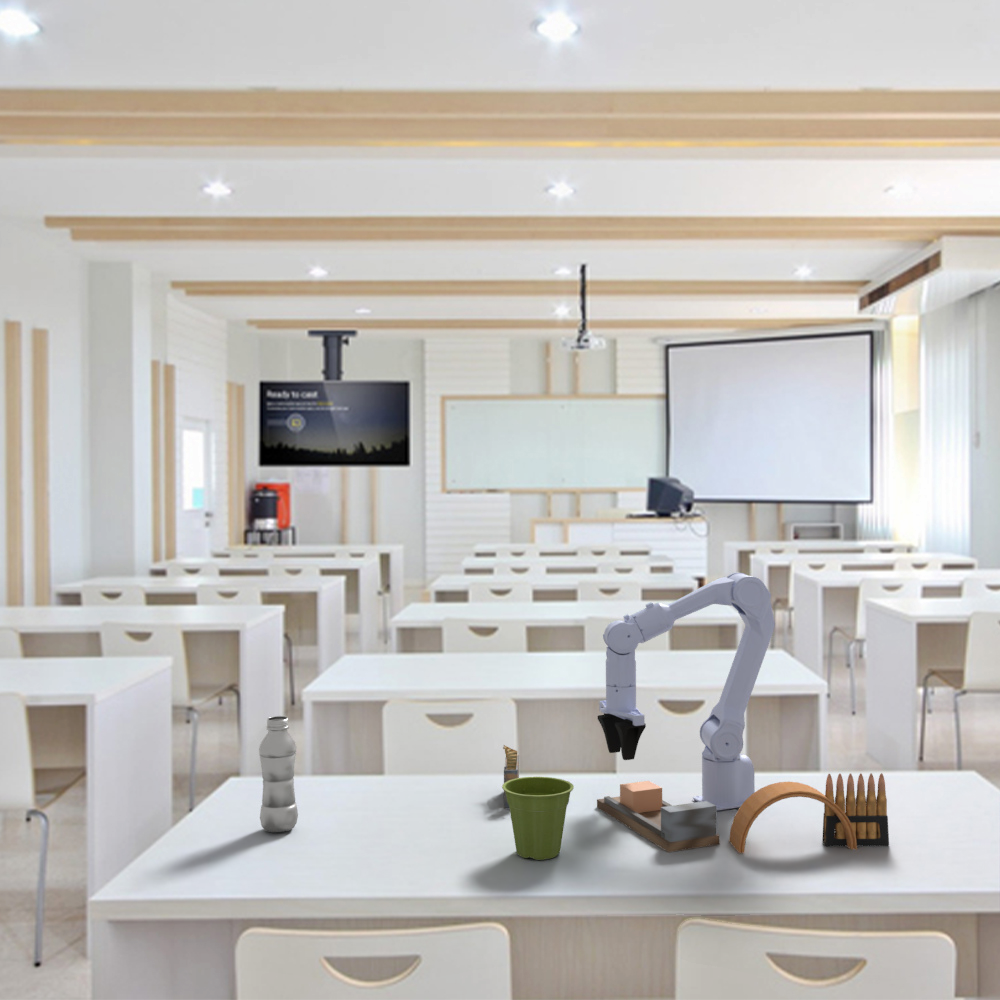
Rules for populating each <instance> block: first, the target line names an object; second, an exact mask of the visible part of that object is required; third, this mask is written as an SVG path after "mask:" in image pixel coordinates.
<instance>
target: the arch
mask: <svg viewBox="0 0 1000 1000" xmlns="http://www.w3.org/2000/svg"><path fill="white" fill-rule="evenodd" d="M798 797H799V798H800V797H801V798H809V799H812V800H814V801H818V802H819V803H822V804H826V805H827V806H828V807H830V808H831V809H832V810H833V812H834V813H835V815H836V816H838V818H839V819H840V821H841V824H842V826H843V828H844V833H845V839H846V840H847V846H846V847H847V848H848V849H850V850H858V846H857V841H856V836H855V832H854V829H853V827H852V825H851V822H850V820H849V819H848V817H847V816H846V814H845V813H844V812H843V811H842V810H841V809H840V808H839V807H838V806H837V805H836V804H835V803H834V802H833V801H831V800H830V799H828V798H827V797H826V796H825V794H824V793H822V791H819V790H818V789H817V788H814V787H813V786H810V785H808V784H804V783H801V782H798V781H780V782H778V781H777V782H775V783H770V784H767V785H765V786H763V787H761V788H759V789H757V790H756V791H755V793H753V794H752V795H751V796H750V797H749V798H747V799H746V800H745V801H744V803H743V804H742V805H741V807H738V810H737V812H736V813H735V815H734V817H733V820H732V823H731V826H730V830H729V831H730V832H729V839H728V840H729V843H730V844H731V845H732V847H733V848H734V850H735V851H737V852H738V854H741V853H742V854H745V849H746V841H747V837H748V834H749V831H750V829H751V827H752V825H754V824H753V823H754V822H755V820H756V819H757V818H758V817H759V815H760V814H762V813H763V811H765V810H766V809H767V808H769V807H770V806H772V805H773V804H775V803H777V802H779V801H782V800H786V799H790V798H798Z"/></svg>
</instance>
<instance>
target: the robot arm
mask: <svg viewBox="0 0 1000 1000" xmlns="http://www.w3.org/2000/svg"><path fill="white" fill-rule="evenodd" d="M771 599H772V594H771V592H770V591H769V589H768V587H767V586H766V584H765V583H764V582H763V581H762V579H760V578H759V577H757V576H752V575H747V574H746V573H743V572H737V571H736V572H732V573H730V574H728V576H727V577H726V576H723V577H720V578H717V579H714V580H713V581H710V582H709V583H706V584H705V585H703V586H701V587H699V588H697V589H695V590H693V591H691V592H690V593H688V594H685V595H684V596H682V597H680V598H678V599H676V600H675V601H672V602H671V603H668V604H664V603H661V602H658V601H657V602H656V603H653V602H652V601H651V602H648V603H646V604H645V608H643V609H640V610H639V611H636V612H634V613H633V614H628V613H627V614H625V615H623V617H622V618H623V620H619V619H617V620H614V621H612V622H611V621H610V623H608V624H607V627H605V629H604V633H603V634H602V638H603V641H604V643H605V644H606V651H605V656H606V659H605V699H604V700H599V701H598V702H599V703H598V705H599V707H598V708H599V709H598V710H599V712H600V713H601V714H600V715H597V720H598V722H599V724H600V726H601V728H602V730H603V734H604V737H605V741H606V745H607V749H608V753H609V754H614V753H620V752H621V757H622V760H623V761H631V760H635V757H636V753H637V749H638V745H639V741H640V739H641V737H642V734H643V732H644V730H645V729H646V727H647V725H646V723H645V713H642V712H641V711H640V709H639V708H638V707H637V662H636V650H637V648H638V645H639V644H644V643H646V642H648V641H650V640H652V639H655V638H656V637H659V636H660V635H662V634H666V633H667V632H669V631H671V630H672V629H673V626H674V623H675V621H676V620H679V619H681V618H684V617H686V616H689V615H691V614H692V613H695V612H698V611H700V610H702V609H704V608H707V607H710V606H712V605H721V606H732V607H733V608H735V610H736V611H737V613H738V614H739V616H740V618H741V620H742V622H743V623H744V625H745V627H744V629H743V633H742V635H741V638H740V641H739V644H738V647H737V650H736V653H735V655H734V658H733V661H732V663H731V665H730V666H731V667H730V669H729V672H728V675H727V676H726V677H727V678H726V681H725V683H724V686H723V689H722V692H721V694H720V697H719V699H718V700H719V701H718V702H717V703H716V704H715V706H714V707H713V708H712V709H711V711H710V713H709V714H710V715H709V716H708V717H707V719H705V720H704V721H703V722H702V724H701V726H700V729H699V738H700V740H701V743H703V745H705V747H704V748H703V750H702V752H701V786H702V787H701V793H702V795H696V796H693V797H692V800H693V801H695V802H702V801H708V802H710V803H712V804H714V805H716V812H717V811H723V810H730V809H736V808H737V809H739V808H740V807H741V805H742V804H743V803H744V801H745V800H746V799H747V798H749V797H750V796H751V795H752V794H753V793H755V792H756V791H755V768H754V764H753V762H752V760H751V758H750V757H749V756H748V755H746V754H744V753H743V754H741V753H742V751H743V748H744V738H743V735H744V731H745V727H746V721H745V718H746V717H745V712H746V709H747V707H748V705H749V704H748V703H749V701H750V698H751V695H752V693H753V690H754V686H755V685H756V681H757V679H758V675H759V672H760V670H761V668H762V664H763V661H764V659H765V656H766V653H767V650H768V647H769V645H770V642H771V638H772V637H773V633H774V631H775V628H776V627H775V626H776V623H775V616H774V613H773V606H772V603H771V601H772V600H771Z"/></svg>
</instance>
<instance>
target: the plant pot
mask: <svg viewBox="0 0 1000 1000" xmlns="http://www.w3.org/2000/svg"><path fill="white" fill-rule="evenodd" d="M574 786H575V785H574V784H573V783H572V782H570V781H569V780H565V779H562V778H558V777H557V778H556V777H550V776H522V777H519V778H516V779H512V780H509V781H507V782H505V783H504V782H503V783H502V786H501V788H502V790H503V792H504V791H505V792H506V797H507V802H508V804H509V808H508V809H509V813H510V814H509V815H510V818H511V824H512V825H511V826H512V831H513V839H514V844H515V850H516V853H517V855H518V856H520V857H521V858H524V859H528V858H532V859H534V860H538V861H544V860H547V859H548V860H550V859H553V858H555V857H557V856H558V854H560V853H561V847H562V841H563V834H564V828H565V827H564V826H565V821H566V814H567V807H568V805H569V802H570V796H571V792H572V791H573V790H574Z"/></svg>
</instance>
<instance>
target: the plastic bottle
mask: <svg viewBox="0 0 1000 1000" xmlns="http://www.w3.org/2000/svg"><path fill="white" fill-rule="evenodd" d="M288 729H290V725H289V717H288V716H286V715H277V716H270V717H267V720H266V731H267V733H266V735H265V736H264V738H263V739H262V741H261V742H260V745H259V748H258V753H259V760H260V766H261V773H262V797H261V799H262V800H261V805H260V807H261V808H260V814H259V820H260V825H261V827H262V828H263V830H264V831H265V832H269V833H282V832H283V833H284V832H287V831H291V830H292V829H294V828H295V827H296V825H297V822H298V818H299V813H298V806H297V802H296V795H295V793H296V792H295V786H294V785H295V784H294V783H295V782H294V781H295V779H294V777H295V763H296V755H297V744H296V742H295V739H294V738H293V736H292V735H291V734H290V733H289V731H288Z"/></svg>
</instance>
